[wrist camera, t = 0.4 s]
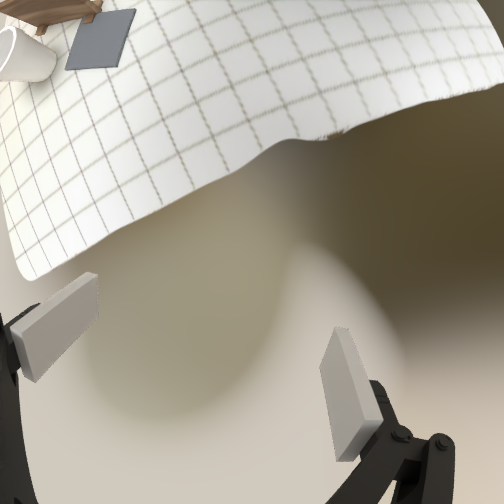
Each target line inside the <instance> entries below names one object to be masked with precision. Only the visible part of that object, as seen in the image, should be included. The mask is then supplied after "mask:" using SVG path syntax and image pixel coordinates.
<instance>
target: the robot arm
mask: <svg viewBox="0 0 504 504" xmlns="http://www.w3.org/2000/svg"><path fill="white" fill-rule="evenodd" d="M98 317H99V304H98V275H97V274H93V273H90V272H86V273H84V274H83V275H81V276H80V277H78V278H77V279H75V280H74V281H72V282H71V283H70V284H68V285H67V286H65V287H64V288H62V289H61V290H60V291H58V292H57V293H55V294H54V295H52V296H51V297H49V298H48V299H47V300H45V301H44V302H43V303H38V304H35V305H32V306H30V307H29V308H27V309H26V310H25V311H24V312H22V313H20V314H19V315H18V316H16V317H15V318H14V319H12V320H11V321H10V322H9V323H7V324H6V325H3V321H2V317H1V313H0V504H38V502H37V499H36V496H35V493H34V489H33V485H32V481H31V477H30V473H29V467H28V462H27V457H26V452H25V445H24V439H23V431H22V424H21V415H20V402H19V384H18V374H17V370H18V369H19V368H20V367H21V369H22V372H23V375H24V377H26V378H27V379H29V380H31V381H33V382H34V383H36V382H37V381H38V380H39V379H40V378H41V376H42V375H43V374H44V373H45V372H46V371H47V370H48V369H49V368H50V367H51V366H52V364H54V362H55V361H56V360H57V359H58V358H59V357H60V356H61V355H62V354H63V353H64V352H65V351H66V350H67V349H68V348H69V347H70V346H71V345H72V344H73V342H75V341H76V339H78V337H80V335H81V334H82V333H83V332H84V331H85V330H86V329H87V328H88V327H89V326H90V325H91V324H92V323H93V322H94V321H95V320H96V319H97V318H98ZM320 372H321V377H322V382H323V388H324V393H325V398H326V403H327V409H328V414H329V420H330V425H331V431H332V437H333V443H334V449H335V456H336V461H339V462H344V461H347V462H348V461H354V460H355V458H356V457H357V456H358V455H359V454H360V458H361V462H360V463H359V464H358V466H357V467H356V468H355V469H354V470H353V471H352V473H351V474H350V476H349V477H348V478H347V479H346V481H345V482H344V483H343V484H342V485H341V486H340V488H339V489H338V490H337V491H336V492H335V494H334V495H333V496H332V497H331V498H330V499H329V500H328V501H327V502H326V503H325V504H378V502H379V501H380V499H381V498H382V496H383V494H384V493H385V491H386V490H387V488H388V486H389V485H390V483H391V482H392V480H396V481H397V482H396V486H395V490H394V494H393V497H392V501H391V504H452V500H453V489H454V472H455V445H454V442H453V440H452V439H451V438H450V437H449V436H447V435H445V434H442V433H437V434H434V435H433V436H431V438H430V439H429V440H424V439H419V438H414V437H413V434H412V433H411V431H410V430H409V429H408V428H406V427H405V426H402V425H400V424H399V423H398V420H397V418H396V415H395V413H394V410H393V408H392V405H391V404H390V400H389V398H388V397H387V393H386V391H385V389H384V387H383V386H382V385H381V384H380V383H379V382H378V381H375V380H369V379H368V377H367V374H366V372H365V369H364V367H363V364H362V361H361V359H360V356H359V354H358V351H357V349H356V347H355V344H354V342H353V339H352V337H351V334H350V332H349V330H348V329H346V328H339V327H335V328H334V331H333V333H332V336H331V339H330V342H329V344H328V347H327V349H326V352H325V355H324V357H323V360H322V362H321V365H320Z"/></svg>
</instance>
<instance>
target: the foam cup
mask: <svg viewBox="0 0 504 504" xmlns="http://www.w3.org/2000/svg"><path fill="white" fill-rule="evenodd" d="M56 61H57V56H56V53H55V52H53V51H52V50H50V49H49V48H47V47H46V46H44V45H43V44H41V43H40V42H38V41H37V40H35V39H33V38H32V37H30V36H29V35H27V34H26V33H25V32H24V31H23V30H21V29H19V28H16V27H13V26H11V25H10V26H8V27H5V28H3V29H2V30H1V31H0V82H1V81H22V82H41V81H44V80H45V79H47V78H48V77H49V76H50V75H51V73H52V72H53V70H54V68H55V66H56Z"/></svg>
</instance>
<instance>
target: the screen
mask: <svg viewBox="0 0 504 504" xmlns="http://www.w3.org/2000/svg"><path fill="white" fill-rule="evenodd" d="M102 3H103V1H102V0H95V1H90V0H5V1H3V2H1V3H0V12H1V13H4V14H7V15H9V16H12V17H14V18H17V19H19V20H22V21H24V22H26V23H29V24H31V25H34V26H36V27H38V28H37V31H36V34H35V35H37V36H39V35H43V34H45V31H46V29H47V26H49V25H53V24H57V23H61V22H65V21H69V20H74V19H79V18H82V17H83V16H85V19H84V21H83V24H88V23H93V20H94V17H95V15H96V14H98V13H101V11H102V9H101V6H102Z"/></svg>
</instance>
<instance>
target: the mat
mask: <svg viewBox="0 0 504 504" xmlns="http://www.w3.org/2000/svg"><path fill="white" fill-rule="evenodd" d="M135 12H136V9H135V8H134V9H124V10H116V11H109V12H102V13H98V14H96V15H95V17H94V20H93V23H88V24H83V21H84V19H85V16H83V17H82V20H81V23H80V25H79V28H78V30H77V33H76V36H75V39H74V42H73V45H72V47H71V51H70V54H69V57H68V60H67V63H66V67H65V70H76V69H88V68H103V67H117V66H118V62H119V59H120V56H121V52H122V49H123V46H124V43H125V40H126V37H127V34H128V31H129V28H130V26H131V23H132V20H133V17H134V15H135Z"/></svg>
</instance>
